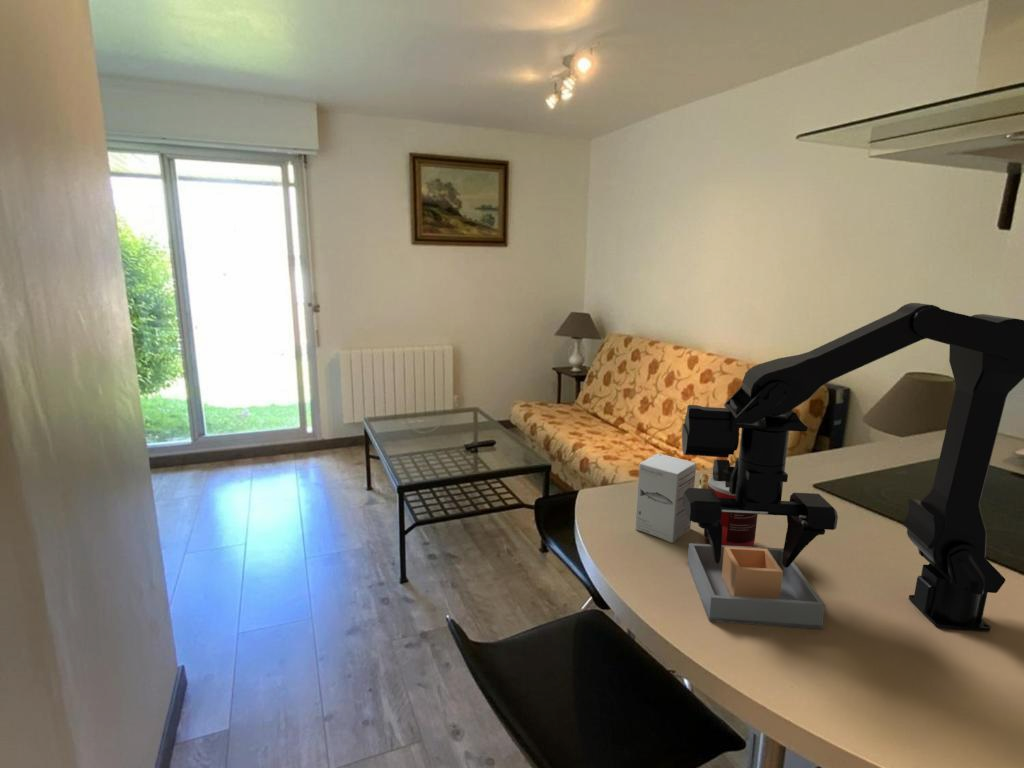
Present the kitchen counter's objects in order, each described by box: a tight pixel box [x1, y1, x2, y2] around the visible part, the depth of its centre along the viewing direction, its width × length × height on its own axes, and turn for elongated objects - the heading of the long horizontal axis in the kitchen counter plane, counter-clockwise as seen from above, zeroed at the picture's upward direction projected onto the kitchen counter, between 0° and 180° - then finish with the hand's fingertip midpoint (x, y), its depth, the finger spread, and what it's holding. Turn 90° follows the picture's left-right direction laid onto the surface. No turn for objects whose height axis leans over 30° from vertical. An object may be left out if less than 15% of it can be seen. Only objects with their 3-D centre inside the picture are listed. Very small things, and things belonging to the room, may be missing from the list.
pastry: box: [698, 472, 713, 489], centre depth 110 cm, size 9×7×4 cm
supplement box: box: [634, 452, 698, 544], centre depth 94 cm, size 7×7×13 cm
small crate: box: [721, 547, 783, 599], centre depth 76 cm, size 6×6×5 cm
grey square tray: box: [687, 543, 826, 630], centre depth 76 cm, size 14×14×4 cm
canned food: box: [703, 476, 759, 547], centre depth 89 cm, size 8×8×11 cm
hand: (750, 563), depth 76 cm, fingers open, 9 cm apart
